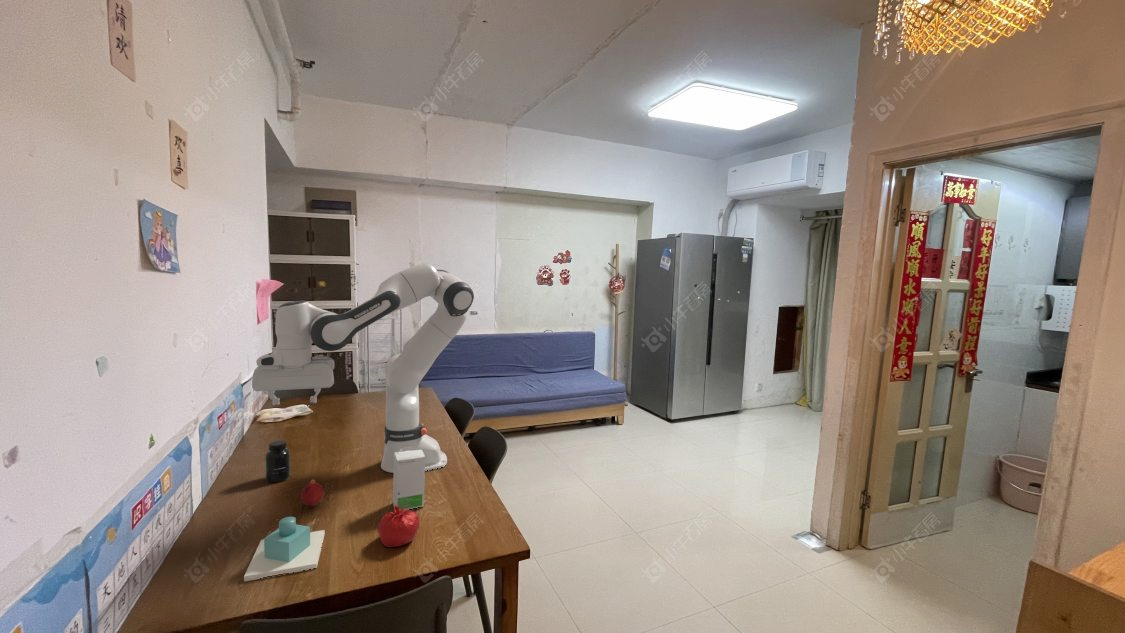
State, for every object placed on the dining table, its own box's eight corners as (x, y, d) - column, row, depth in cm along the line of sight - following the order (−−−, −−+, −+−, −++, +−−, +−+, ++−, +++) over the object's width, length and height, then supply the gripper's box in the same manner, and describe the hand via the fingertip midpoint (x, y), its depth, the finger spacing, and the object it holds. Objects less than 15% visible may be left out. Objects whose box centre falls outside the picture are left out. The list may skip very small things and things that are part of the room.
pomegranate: (418, 548, 111) (419, 513, 110) (375, 554, 108) (375, 518, 107) (419, 526, 121) (420, 494, 120) (380, 531, 118) (380, 498, 117)
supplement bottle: (278, 484, 140) (277, 448, 139) (260, 481, 141) (259, 445, 140) (295, 475, 147) (294, 440, 145) (277, 472, 148) (277, 437, 147)
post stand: (324, 534, 115) (324, 517, 115) (316, 568, 102) (316, 549, 102) (261, 544, 110) (260, 526, 110) (244, 581, 97) (243, 561, 97)
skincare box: (395, 513, 126) (395, 461, 125) (392, 502, 132) (392, 452, 131) (425, 507, 130) (425, 456, 129) (421, 496, 136) (421, 448, 135)
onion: (308, 514, 124) (307, 486, 123) (297, 507, 127) (296, 481, 126) (328, 505, 129) (327, 479, 128) (317, 499, 132) (316, 473, 131)
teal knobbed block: (264, 557, 103) (263, 526, 103) (286, 541, 110) (286, 511, 109) (289, 562, 102) (288, 530, 101) (310, 545, 109) (309, 515, 108)
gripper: (335, 354, 134) (336, 398, 136) (255, 356, 127) (257, 403, 128) (333, 358, 129) (333, 404, 130) (249, 360, 121) (250, 409, 122)
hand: (295, 403), depth 129 cm, fingers open, 8 cm apart
